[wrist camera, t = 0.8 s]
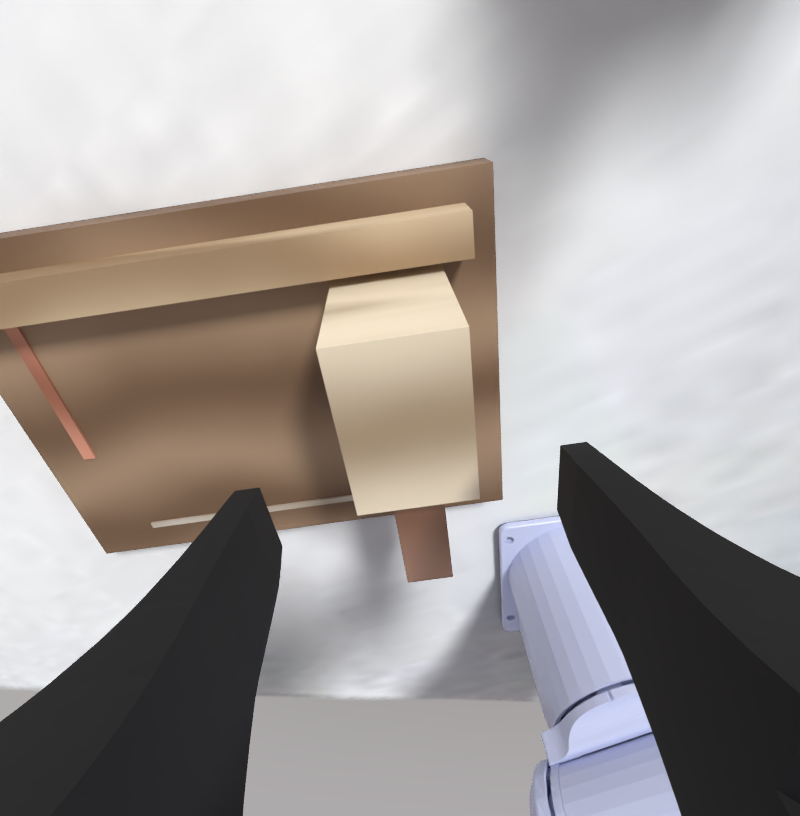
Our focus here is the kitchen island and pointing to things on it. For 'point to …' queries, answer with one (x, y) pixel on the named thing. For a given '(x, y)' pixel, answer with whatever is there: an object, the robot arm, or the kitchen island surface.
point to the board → (226, 344)
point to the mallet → (403, 403)
